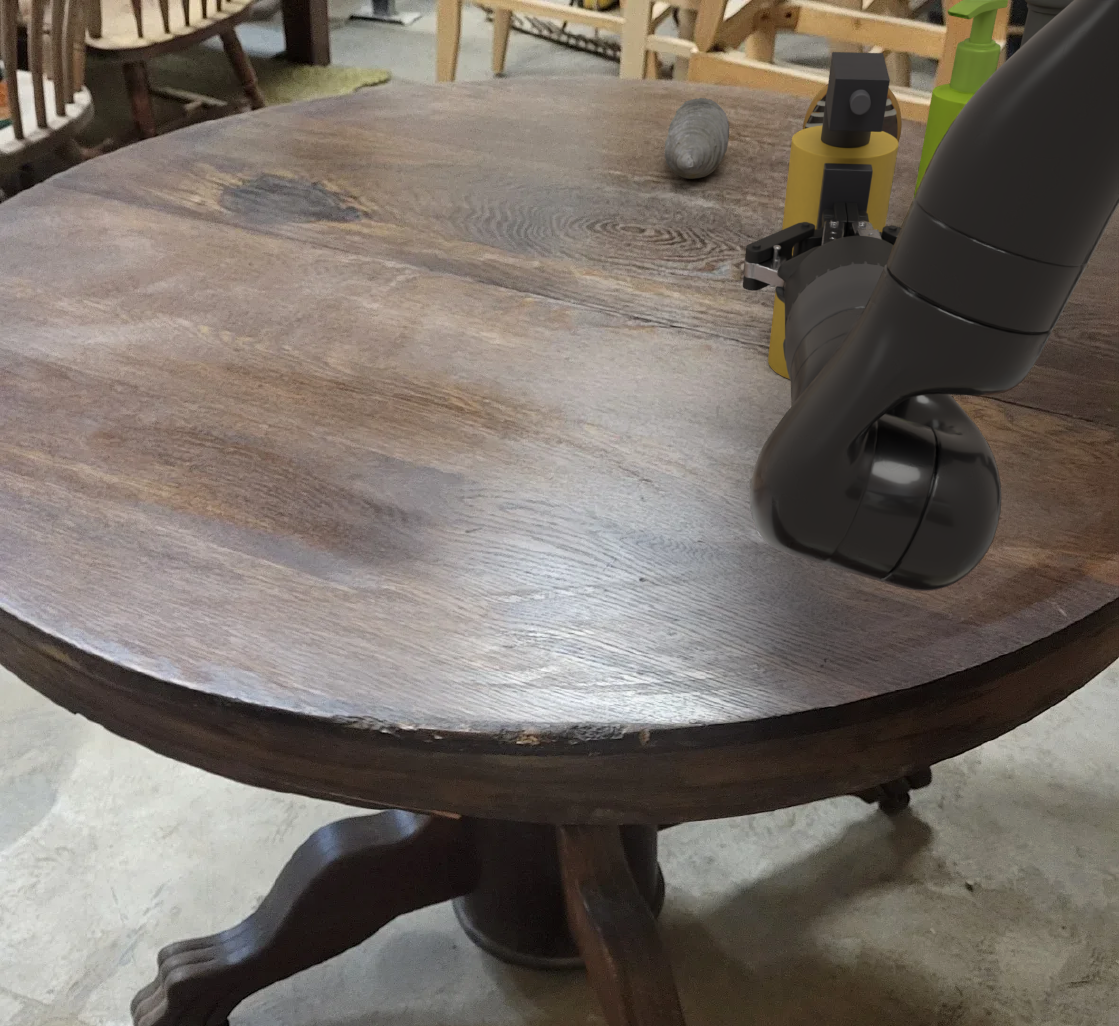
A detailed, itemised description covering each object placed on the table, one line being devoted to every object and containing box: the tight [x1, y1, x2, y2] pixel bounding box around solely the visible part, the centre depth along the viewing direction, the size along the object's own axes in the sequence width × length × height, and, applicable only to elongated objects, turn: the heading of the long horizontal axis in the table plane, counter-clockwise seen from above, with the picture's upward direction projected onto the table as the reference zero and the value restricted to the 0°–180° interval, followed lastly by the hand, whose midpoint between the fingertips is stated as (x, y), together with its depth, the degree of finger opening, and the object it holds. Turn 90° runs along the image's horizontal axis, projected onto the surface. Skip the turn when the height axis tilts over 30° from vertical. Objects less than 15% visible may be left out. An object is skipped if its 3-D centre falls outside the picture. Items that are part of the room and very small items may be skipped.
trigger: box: [816, 163, 873, 229], centre depth 80 cm, size 3×1×6 cm, turn 82°
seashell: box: [663, 97, 730, 180], centre depth 122 cm, size 6×14×8 cm, turn 172°
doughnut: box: [802, 83, 903, 144], centre depth 119 cm, size 9×4×10 cm, turn 77°
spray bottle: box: [767, 51, 899, 380], centre depth 83 cm, size 7×11×22 cm, turn 172°
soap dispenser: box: [913, 0, 1009, 198], centre depth 101 cm, size 6×7×20 cm
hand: (842, 217), depth 79 cm, fingers closed
